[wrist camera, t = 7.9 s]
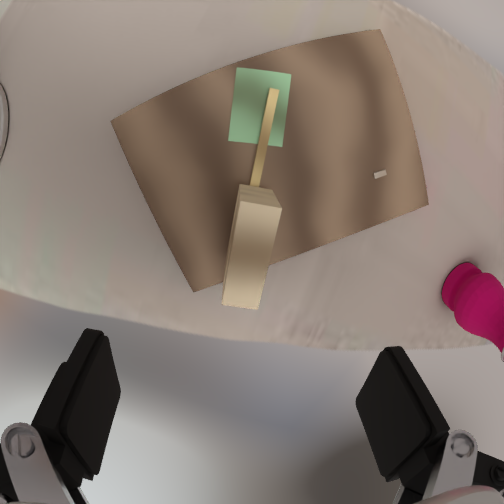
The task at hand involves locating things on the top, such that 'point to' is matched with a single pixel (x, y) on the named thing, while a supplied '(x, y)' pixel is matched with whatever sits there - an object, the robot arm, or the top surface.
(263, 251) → the wooden mallet
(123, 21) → the top surface
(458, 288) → the pepper mill
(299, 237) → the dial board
